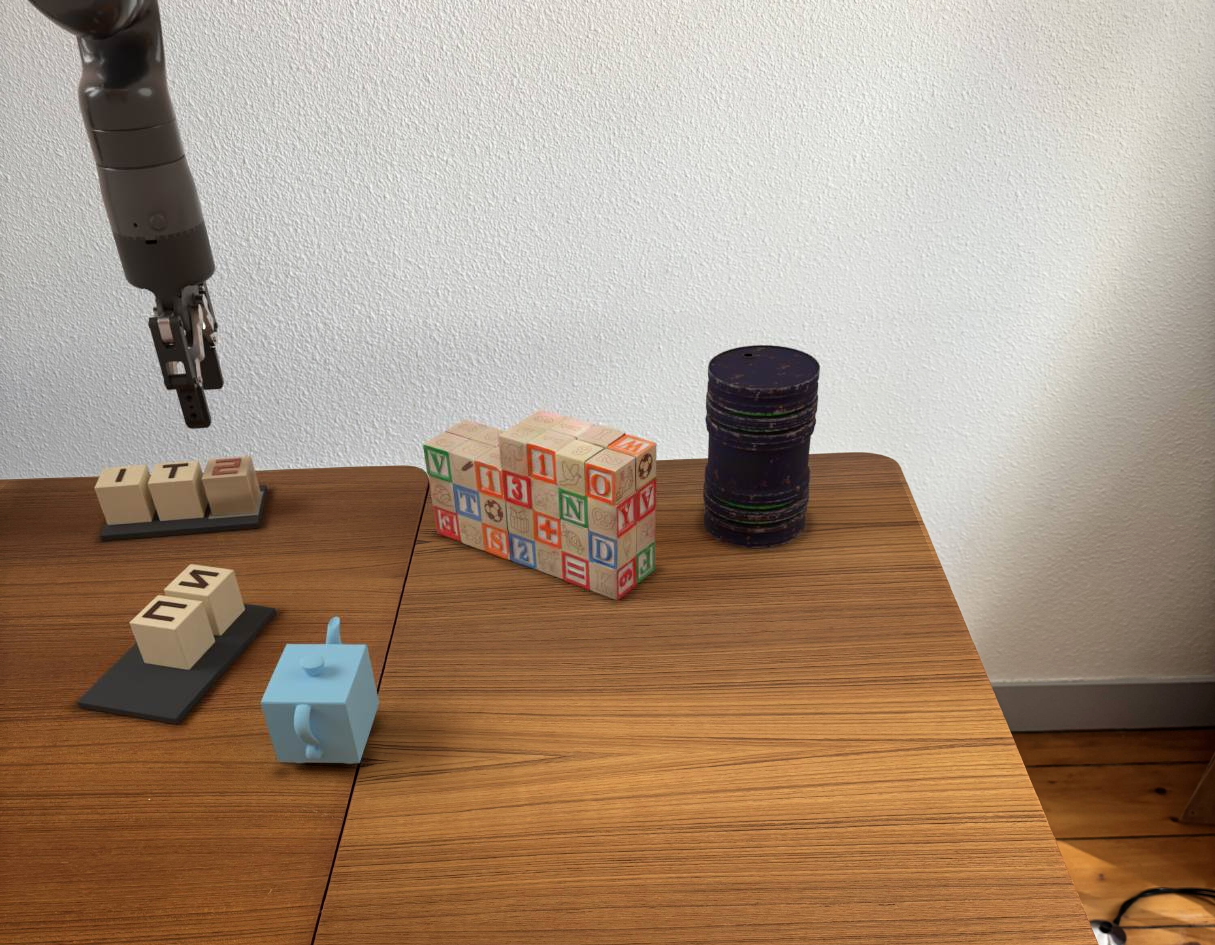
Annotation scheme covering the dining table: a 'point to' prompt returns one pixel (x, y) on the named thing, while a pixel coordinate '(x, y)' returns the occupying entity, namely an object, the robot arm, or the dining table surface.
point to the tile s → (231, 486)
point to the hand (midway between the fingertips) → (206, 406)
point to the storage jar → (759, 444)
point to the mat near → (179, 647)
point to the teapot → (321, 701)
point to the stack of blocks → (550, 497)
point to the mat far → (163, 502)
